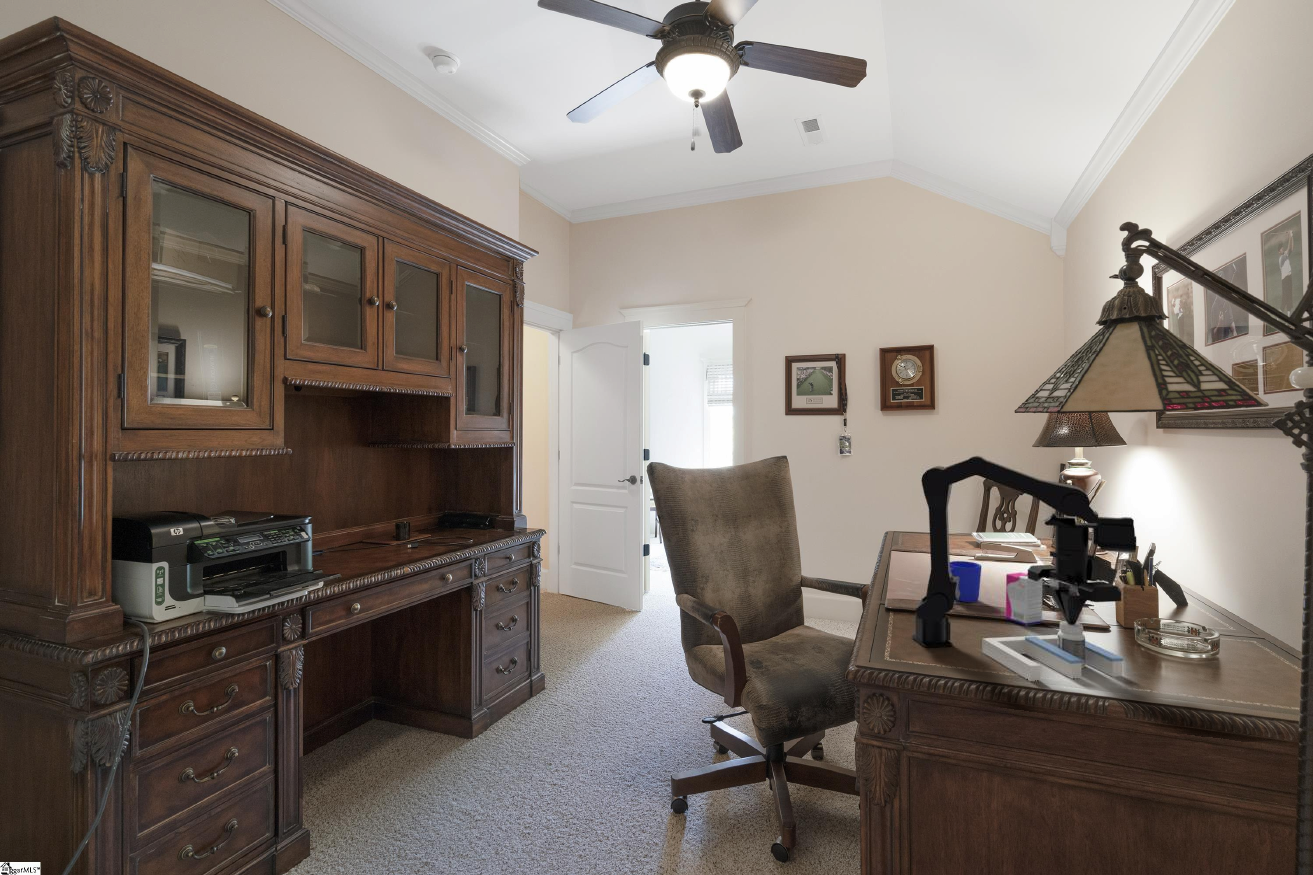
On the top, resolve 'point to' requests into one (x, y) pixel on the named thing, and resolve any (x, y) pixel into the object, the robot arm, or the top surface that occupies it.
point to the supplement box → (1023, 599)
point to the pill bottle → (1072, 640)
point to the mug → (967, 579)
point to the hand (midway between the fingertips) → (1071, 624)
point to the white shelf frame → (1048, 656)
